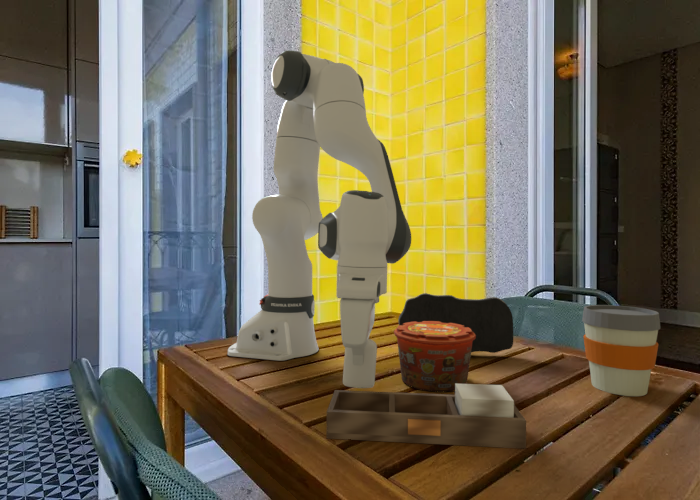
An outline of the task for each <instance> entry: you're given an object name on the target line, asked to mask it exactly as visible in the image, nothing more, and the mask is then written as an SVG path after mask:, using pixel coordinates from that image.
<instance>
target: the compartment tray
mask: <svg viewBox="0 0 700 500" xmlns="http://www.w3.org/2000/svg"><path fill="white" fill-rule="evenodd" d="M326 439H331V440H332V439H333V440H348V439H351V440H353V441H372V442H389V443H393V442H394V443H410V444H411V443H412V444H426V445H427V444H429V445H431V444H432V445H449V446H465V447H467V446H470V447H485V448H486V447H488V448H510V449H523V448H526V449H527V419H525V417H524V415H523V414H522V413H521V412H520V410H519V409H518V408H517V406H516V405H515V401H514V399H513V397H512V396H511V395H510V393H508V391H507V389H506V388H505V387H504V386H503V385H502V384H481V383H480V384H479V383H477V384H476V383H467V384H457V383H455V391H454V394H449V393H448V394H447V393H446V394H443V393H442V394H441V393H419V392H418V393H417V392H416V393H415V392H393V391H392V392H391V391H373V390H372V391H370V390H367V391H366V390H365V391H364V390H345V389H343V390H341V389H340V390H339V389H335V390H334V392H333V393H332V396H331V399H330V401H329V405H328V407H327V409H326ZM351 440H350V441H351Z"/></svg>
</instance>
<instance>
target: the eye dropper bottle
mask: <svg viewBox="0 0 700 500" xmlns="http://www.w3.org/2000/svg"><path fill="white" fill-rule="evenodd" d="M377 353H378V345H377V343H376V341H374V340H373V339H371V338H368V341H367V344H366V347H365V348H364V362H363V365H361V366H358V365H354V364H353V353H352V348H347V347H344V358H343V371H342V384H343V385H344V386H345V387H348V388H355V389H371V388H374V386H375V382H376V381H375V380H376V369H377V367H376V366H377V357H378V356H377V355H378V354H377Z"/></svg>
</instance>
